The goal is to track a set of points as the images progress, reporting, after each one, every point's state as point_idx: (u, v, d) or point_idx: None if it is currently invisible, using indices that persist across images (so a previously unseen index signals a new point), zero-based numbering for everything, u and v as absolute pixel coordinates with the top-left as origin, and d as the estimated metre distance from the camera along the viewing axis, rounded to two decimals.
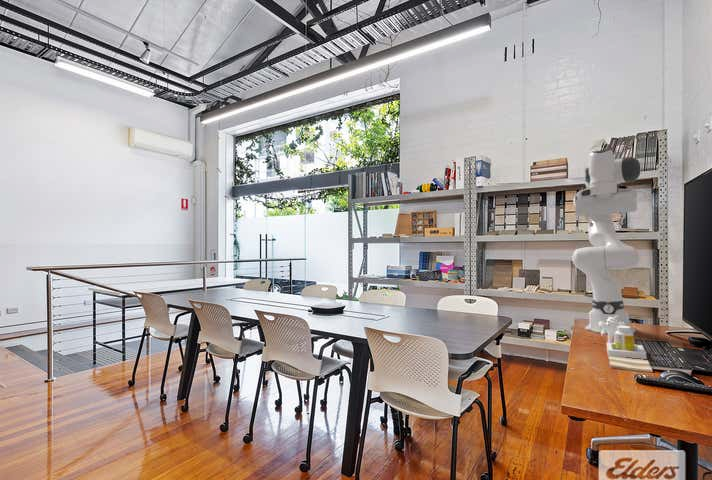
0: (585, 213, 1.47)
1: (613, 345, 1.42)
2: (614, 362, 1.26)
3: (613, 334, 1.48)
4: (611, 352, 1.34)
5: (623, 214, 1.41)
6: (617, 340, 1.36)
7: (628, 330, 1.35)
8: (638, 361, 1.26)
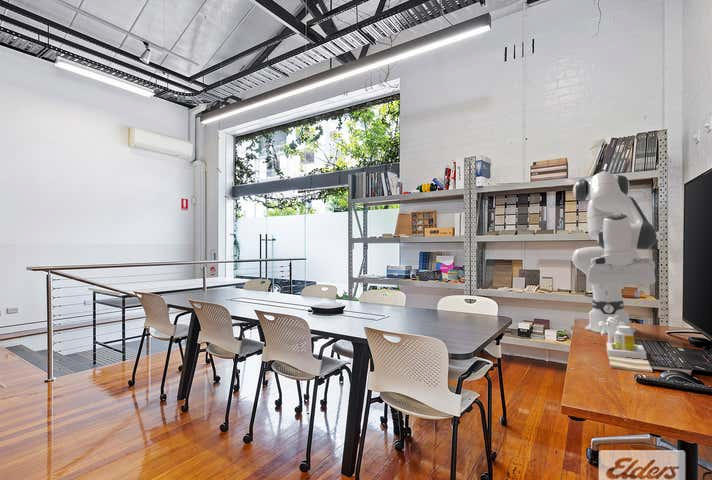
0: (599, 282, 1.39)
1: (613, 345, 1.42)
2: (614, 362, 1.26)
3: (613, 334, 1.48)
4: (611, 352, 1.34)
5: (640, 286, 1.33)
6: (617, 340, 1.36)
7: (628, 330, 1.35)
8: (638, 361, 1.26)
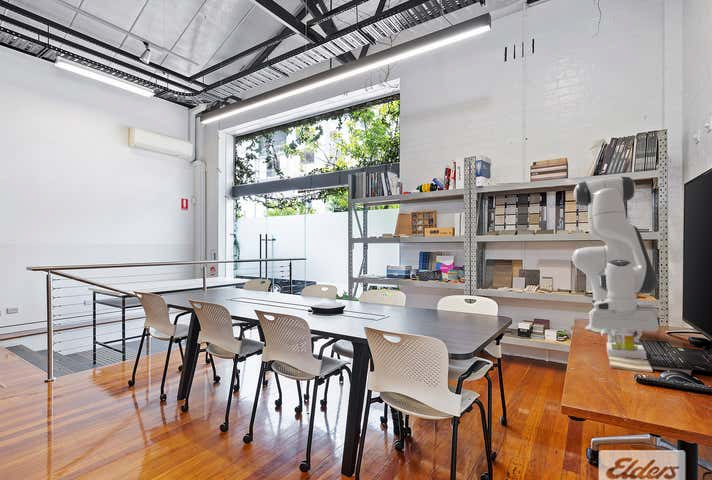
0: (602, 327, 1.38)
1: (613, 345, 1.42)
2: (614, 362, 1.26)
3: (613, 334, 1.48)
4: (611, 352, 1.34)
5: (639, 332, 1.33)
6: (617, 340, 1.36)
7: (628, 330, 1.35)
8: (638, 361, 1.26)
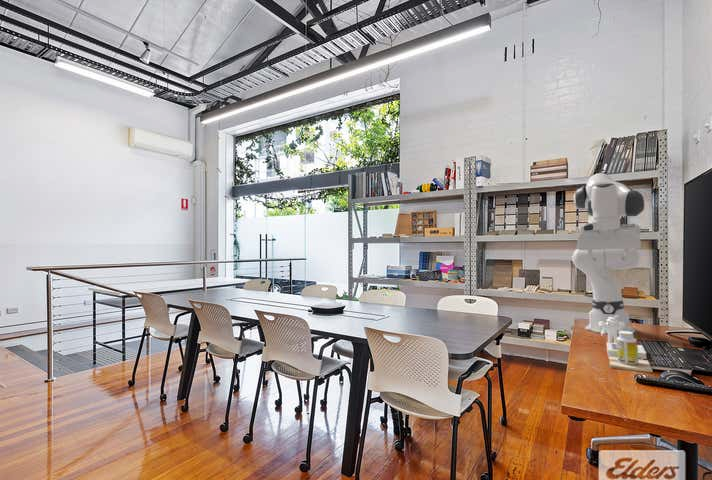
0: (588, 248, 1.44)
1: (613, 345, 1.42)
2: (614, 362, 1.26)
3: (613, 334, 1.48)
4: (611, 352, 1.34)
5: (626, 250, 1.38)
6: (619, 347, 1.25)
7: (631, 336, 1.24)
8: (638, 361, 1.26)
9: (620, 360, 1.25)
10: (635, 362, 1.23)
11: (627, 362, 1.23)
